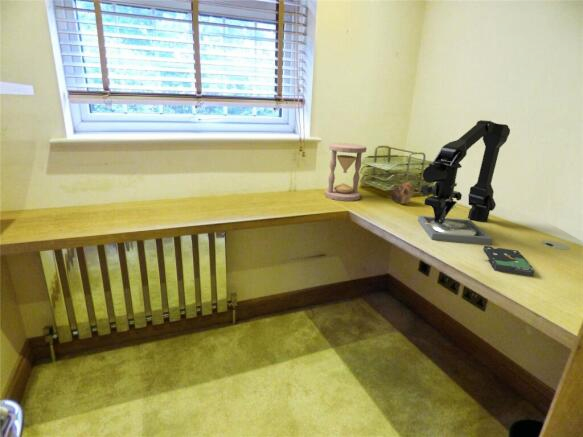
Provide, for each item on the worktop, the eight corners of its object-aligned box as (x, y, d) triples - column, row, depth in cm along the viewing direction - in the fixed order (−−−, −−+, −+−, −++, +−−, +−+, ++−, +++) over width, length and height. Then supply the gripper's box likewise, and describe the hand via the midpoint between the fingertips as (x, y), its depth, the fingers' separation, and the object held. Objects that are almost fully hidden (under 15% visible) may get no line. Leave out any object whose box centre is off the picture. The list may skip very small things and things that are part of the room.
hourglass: (355, 192, 181) (361, 144, 173) (364, 202, 164) (371, 148, 156) (322, 191, 180) (326, 142, 171) (327, 200, 163) (332, 146, 155)
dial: (484, 236, 127) (489, 218, 124) (457, 243, 119) (461, 223, 116) (446, 222, 140) (450, 206, 137) (419, 227, 132) (423, 210, 129)
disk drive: (481, 253, 115) (494, 272, 102) (483, 245, 114) (496, 263, 101) (515, 258, 113) (533, 278, 99) (518, 250, 112) (536, 269, 98)
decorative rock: (412, 206, 163) (416, 183, 159) (401, 206, 161) (405, 183, 157) (398, 199, 173) (402, 178, 170) (388, 199, 172) (391, 178, 168)
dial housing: (468, 227, 138) (470, 219, 137) (490, 246, 119) (493, 238, 118) (417, 222, 140) (418, 215, 139) (431, 241, 121) (433, 232, 120)
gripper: (437, 173, 139) (430, 210, 144) (414, 179, 127) (408, 219, 132) (465, 178, 131) (458, 217, 137) (443, 185, 119) (436, 227, 124)
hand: (439, 220), depth 133 cm, fingers open, 4 cm apart
